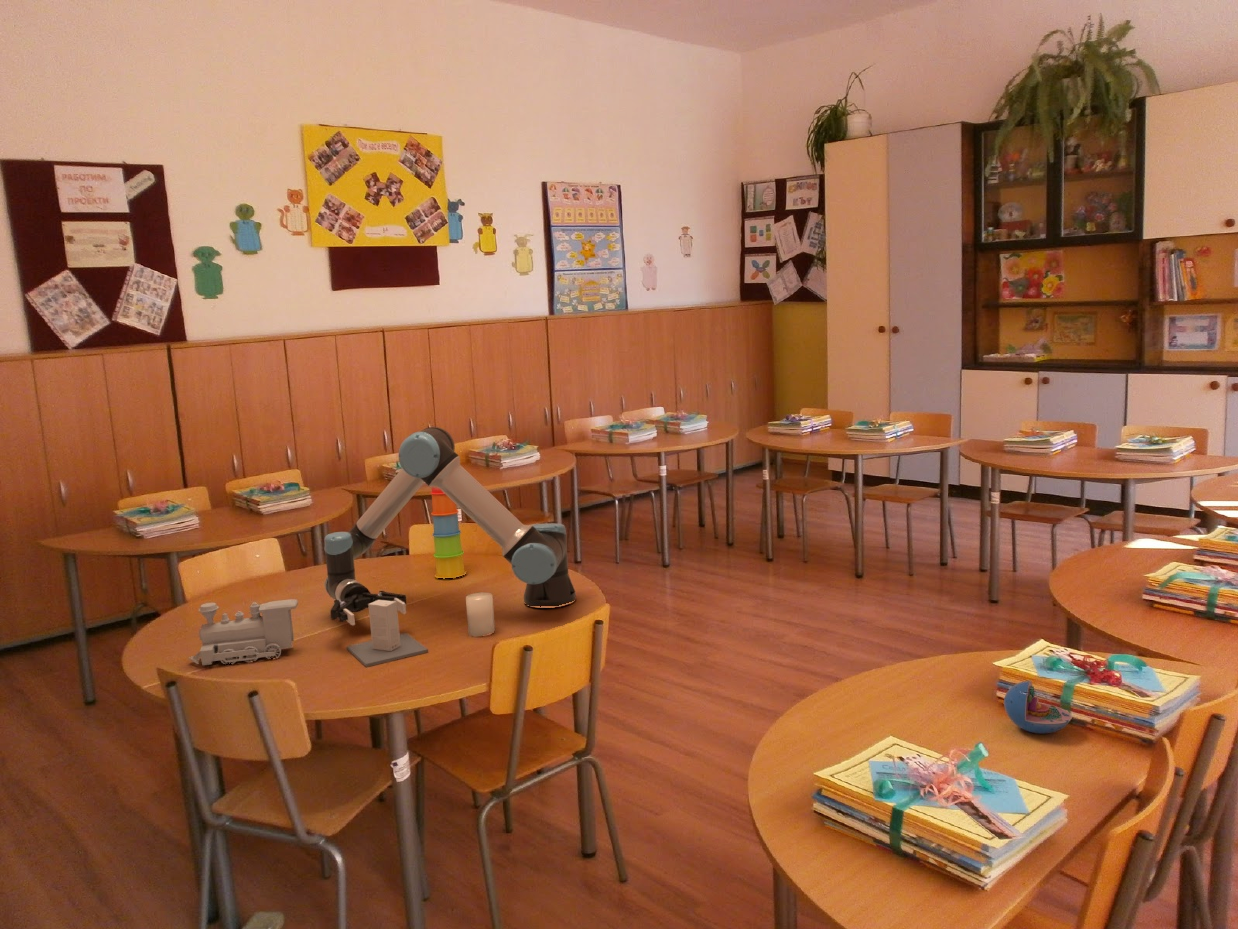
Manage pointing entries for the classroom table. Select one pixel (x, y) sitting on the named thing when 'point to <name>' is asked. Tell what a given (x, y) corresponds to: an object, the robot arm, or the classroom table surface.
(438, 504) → the stacking cups
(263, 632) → the toy train
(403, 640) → the felt mat
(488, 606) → the white pillar candle
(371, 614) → the skincare box
